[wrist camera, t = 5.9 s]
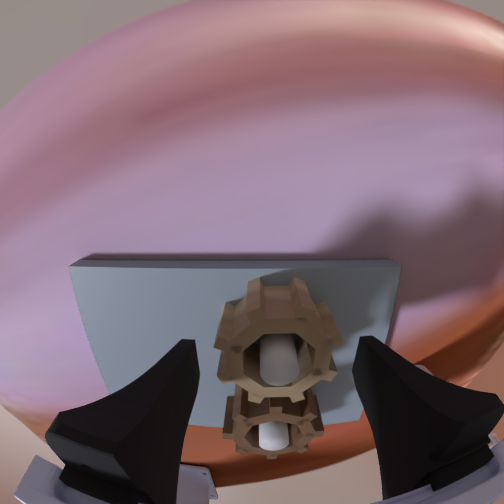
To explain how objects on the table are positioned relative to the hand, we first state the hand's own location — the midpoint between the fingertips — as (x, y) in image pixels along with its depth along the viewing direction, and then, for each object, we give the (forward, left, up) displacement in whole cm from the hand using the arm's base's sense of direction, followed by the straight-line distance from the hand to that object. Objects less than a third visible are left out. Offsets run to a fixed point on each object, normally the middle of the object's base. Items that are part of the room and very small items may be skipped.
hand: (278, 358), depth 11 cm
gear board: (-3, +2, -4) cm, 5 cm away
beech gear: (0, 0, -3) cm, 3 cm away
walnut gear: (-6, 0, -3) cm, 6 cm away
